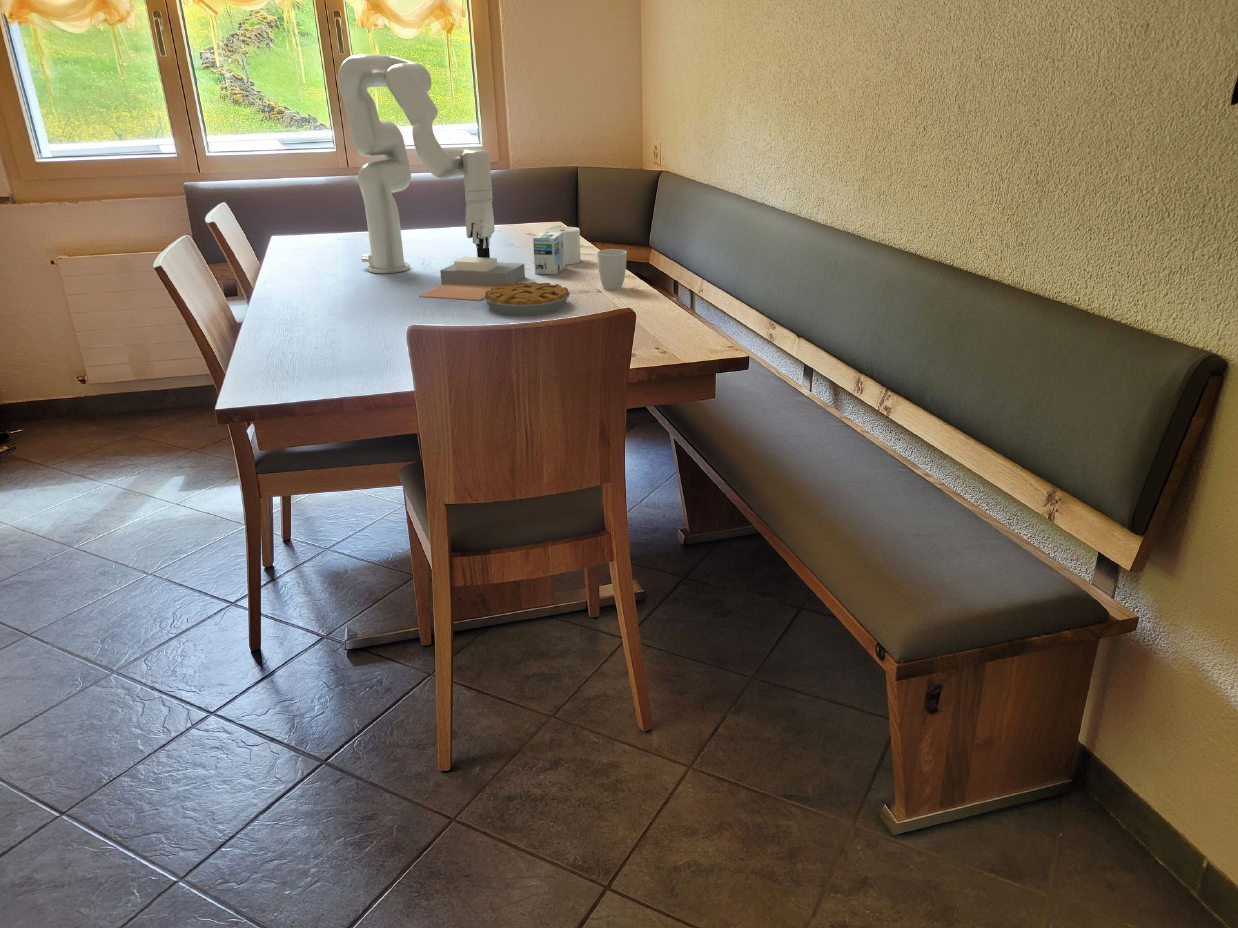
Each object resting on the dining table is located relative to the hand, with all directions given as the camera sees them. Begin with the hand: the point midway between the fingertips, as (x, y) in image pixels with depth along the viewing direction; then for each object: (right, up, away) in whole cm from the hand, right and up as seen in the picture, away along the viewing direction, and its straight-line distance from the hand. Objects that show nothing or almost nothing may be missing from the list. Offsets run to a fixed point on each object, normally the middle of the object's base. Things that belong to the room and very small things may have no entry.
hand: (484, 261), depth 256 cm
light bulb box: (+18, -1, +10) cm, 21 cm away
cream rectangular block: (-2, -2, -5) cm, 5 cm away
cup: (+38, -10, -11) cm, 41 cm away
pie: (+16, -19, -28) cm, 37 cm away
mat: (-4, -12, -13) cm, 18 cm away
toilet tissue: (+21, +5, +23) cm, 32 cm away
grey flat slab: (0, -6, -1) cm, 6 cm away
